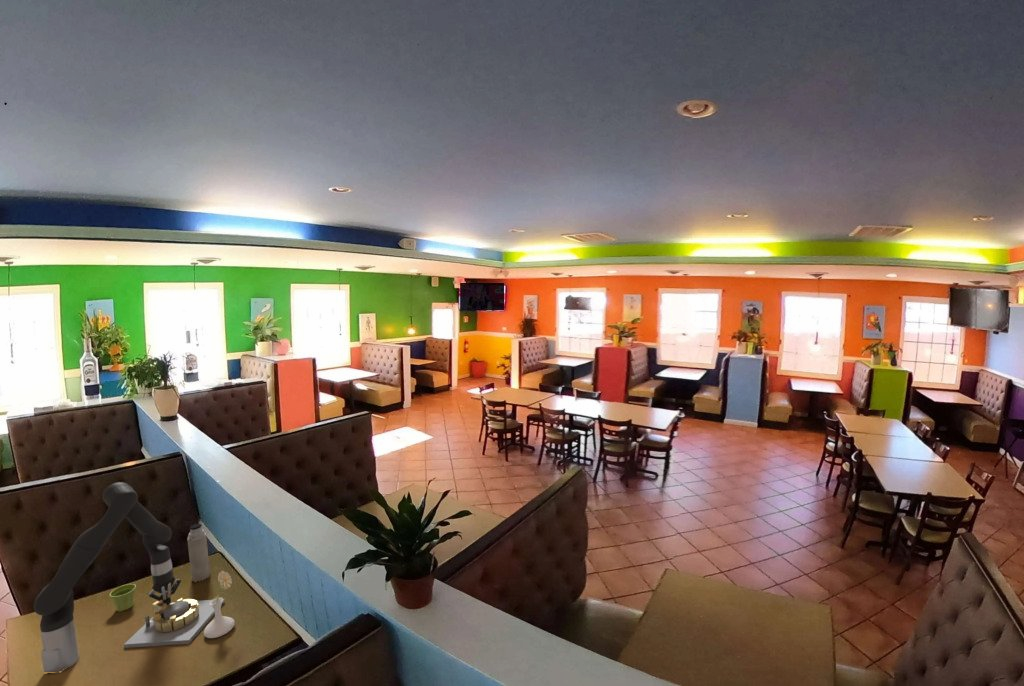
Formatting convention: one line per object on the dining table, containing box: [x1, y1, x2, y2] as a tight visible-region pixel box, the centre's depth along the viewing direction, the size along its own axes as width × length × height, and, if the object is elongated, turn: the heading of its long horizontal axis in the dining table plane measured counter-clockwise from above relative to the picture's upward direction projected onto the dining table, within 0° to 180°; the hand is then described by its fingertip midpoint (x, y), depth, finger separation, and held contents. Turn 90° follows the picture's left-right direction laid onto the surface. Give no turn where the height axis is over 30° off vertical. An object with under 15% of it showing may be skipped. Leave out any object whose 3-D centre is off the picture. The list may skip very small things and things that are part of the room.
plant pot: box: [109, 583, 137, 612], centre depth 215 cm, size 9×9×9 cm
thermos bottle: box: [187, 523, 211, 583], centre depth 236 cm, size 8×8×28 cm
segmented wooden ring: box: [152, 597, 199, 632], centre depth 204 cm, size 22×16×5 cm
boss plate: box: [123, 598, 226, 649], centre depth 203 cm, size 26×26×8 cm
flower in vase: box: [203, 570, 236, 639], centre depth 197 cm, size 13×11×25 cm
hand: (167, 605), depth 210 cm, fingers closed
